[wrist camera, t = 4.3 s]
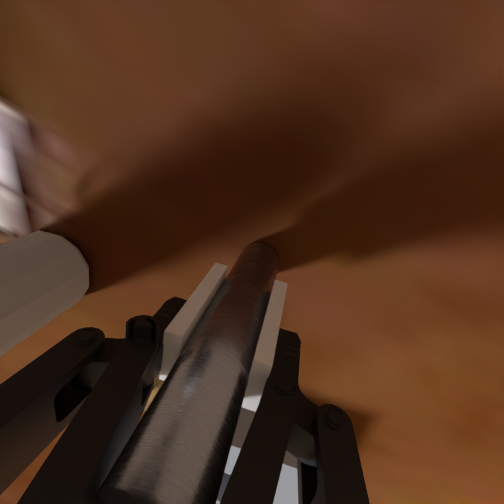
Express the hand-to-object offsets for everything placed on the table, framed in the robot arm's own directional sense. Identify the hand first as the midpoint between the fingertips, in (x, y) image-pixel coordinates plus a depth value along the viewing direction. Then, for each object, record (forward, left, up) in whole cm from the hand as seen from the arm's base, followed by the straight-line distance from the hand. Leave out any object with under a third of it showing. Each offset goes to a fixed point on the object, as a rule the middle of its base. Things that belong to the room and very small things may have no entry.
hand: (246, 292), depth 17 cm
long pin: (0, 0, -5) cm, 5 cm away
